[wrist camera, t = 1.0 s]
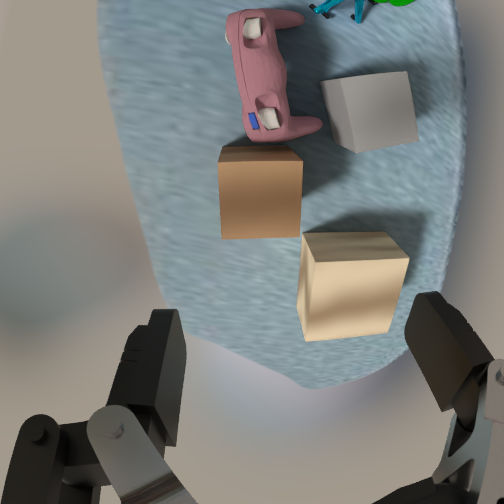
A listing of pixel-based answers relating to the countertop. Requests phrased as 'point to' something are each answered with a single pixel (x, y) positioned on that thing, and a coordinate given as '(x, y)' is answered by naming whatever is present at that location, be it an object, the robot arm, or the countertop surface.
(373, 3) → the stick construction toy
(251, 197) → the walnut block
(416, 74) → the countertop surface
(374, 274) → the birch block
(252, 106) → the video game controller
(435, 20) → the countertop surface
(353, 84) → the grey cube
